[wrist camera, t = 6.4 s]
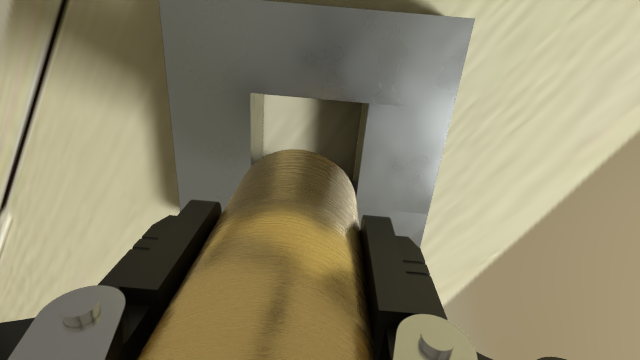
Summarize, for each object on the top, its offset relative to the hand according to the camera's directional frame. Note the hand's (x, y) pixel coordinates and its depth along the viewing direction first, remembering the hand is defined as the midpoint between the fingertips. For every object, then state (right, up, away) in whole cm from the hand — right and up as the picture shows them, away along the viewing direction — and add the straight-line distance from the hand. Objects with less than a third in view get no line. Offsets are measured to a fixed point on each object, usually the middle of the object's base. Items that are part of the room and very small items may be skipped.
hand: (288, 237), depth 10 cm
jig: (0, +4, +8) cm, 9 cm away
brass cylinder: (0, +1, +2) cm, 2 cm away
